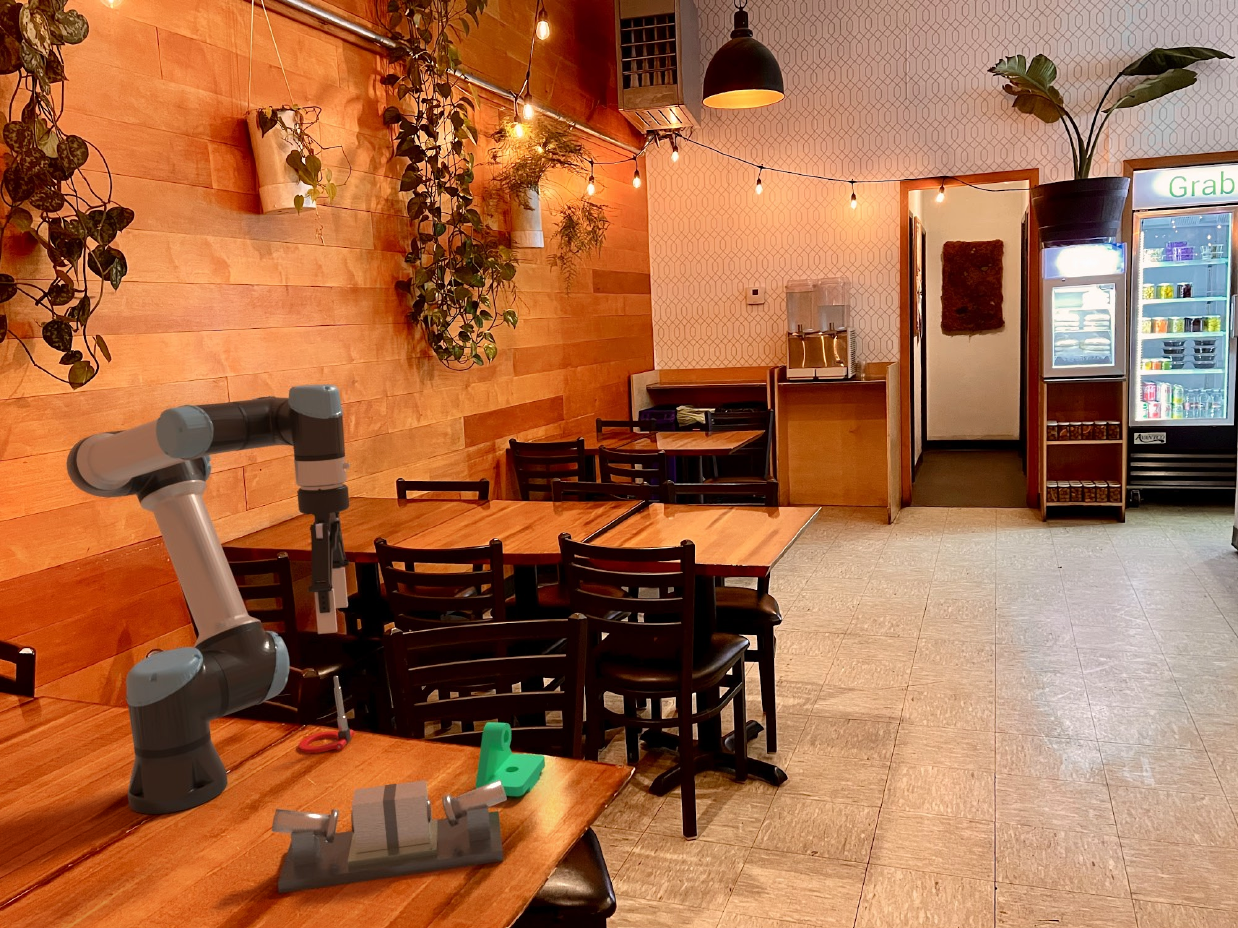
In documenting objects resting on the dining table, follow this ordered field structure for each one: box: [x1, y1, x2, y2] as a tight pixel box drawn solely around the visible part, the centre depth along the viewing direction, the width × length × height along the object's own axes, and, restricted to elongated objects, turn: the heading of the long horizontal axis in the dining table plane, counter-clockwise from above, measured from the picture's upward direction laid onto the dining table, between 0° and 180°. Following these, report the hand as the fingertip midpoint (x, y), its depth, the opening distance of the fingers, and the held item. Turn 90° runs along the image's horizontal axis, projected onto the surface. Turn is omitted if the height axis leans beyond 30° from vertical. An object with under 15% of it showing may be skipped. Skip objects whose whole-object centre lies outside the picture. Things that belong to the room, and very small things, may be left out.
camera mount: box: [475, 721, 546, 797], centre depth 161 cm, size 12×8×10 cm, turn 165°
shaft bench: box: [271, 780, 508, 894], centre depth 140 cm, size 32×12×9 cm, turn 100°
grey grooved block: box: [350, 780, 433, 853], centre depth 140 cm, size 11×5×7 cm, turn 100°
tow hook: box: [298, 675, 355, 754], centre depth 182 cm, size 8×13×9 cm
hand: (333, 619), depth 155 cm, fingers open, 13 cm apart
